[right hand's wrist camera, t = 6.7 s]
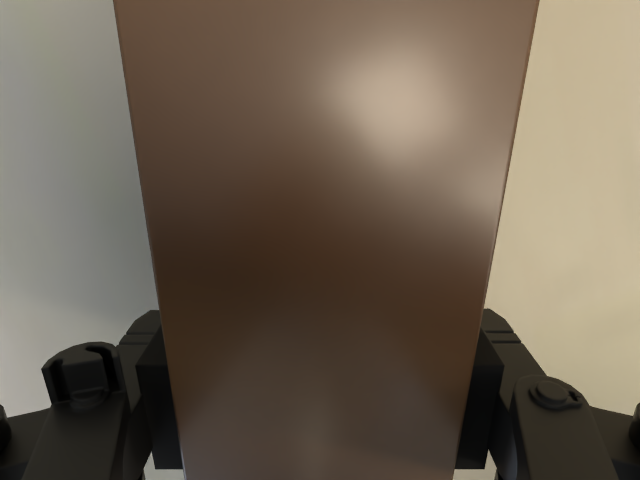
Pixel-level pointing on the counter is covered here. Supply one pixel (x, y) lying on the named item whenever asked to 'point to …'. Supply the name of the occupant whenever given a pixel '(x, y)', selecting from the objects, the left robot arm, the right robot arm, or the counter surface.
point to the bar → (322, 221)
